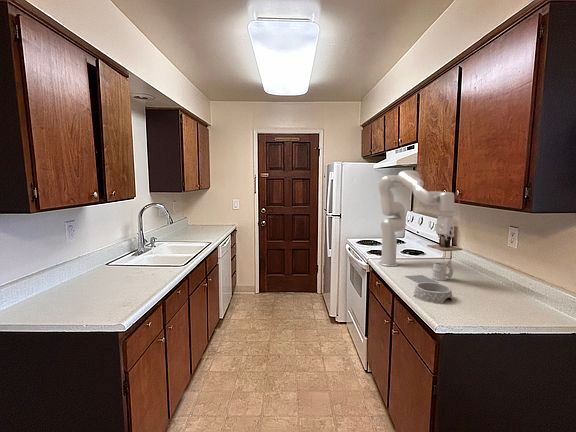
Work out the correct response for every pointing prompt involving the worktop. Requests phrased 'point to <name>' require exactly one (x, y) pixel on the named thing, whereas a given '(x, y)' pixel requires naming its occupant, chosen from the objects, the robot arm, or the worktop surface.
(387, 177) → the robot arm
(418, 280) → the grey flat slab
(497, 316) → the worktop surface
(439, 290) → the dog bowl
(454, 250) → the walnut lid
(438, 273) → the mug
